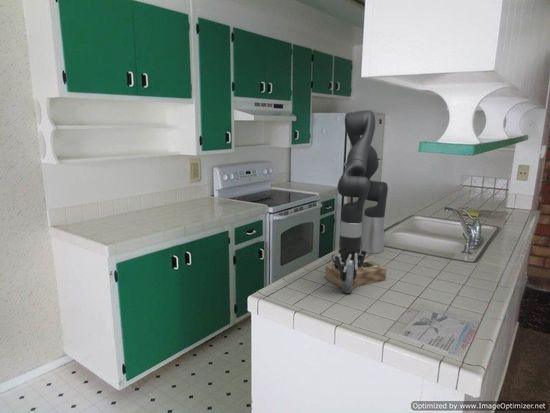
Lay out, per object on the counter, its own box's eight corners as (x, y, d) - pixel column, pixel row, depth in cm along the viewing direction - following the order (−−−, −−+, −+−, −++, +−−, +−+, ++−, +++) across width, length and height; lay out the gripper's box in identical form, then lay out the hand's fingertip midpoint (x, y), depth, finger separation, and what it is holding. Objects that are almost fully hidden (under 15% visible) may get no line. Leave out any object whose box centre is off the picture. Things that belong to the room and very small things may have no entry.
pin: (348, 287, 144) (350, 256, 141) (354, 291, 141) (356, 259, 138) (340, 289, 142) (341, 258, 140) (346, 293, 139) (348, 261, 137)
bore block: (365, 269, 164) (366, 257, 163) (385, 280, 154) (386, 267, 153) (325, 277, 155) (325, 265, 154) (343, 289, 145) (344, 275, 144)
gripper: (359, 228, 143) (356, 272, 147) (327, 233, 137) (325, 279, 141) (373, 233, 137) (370, 280, 141) (340, 239, 130) (337, 287, 134)
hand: (347, 279), depth 141 cm, fingers closed on pin, 3 cm apart
